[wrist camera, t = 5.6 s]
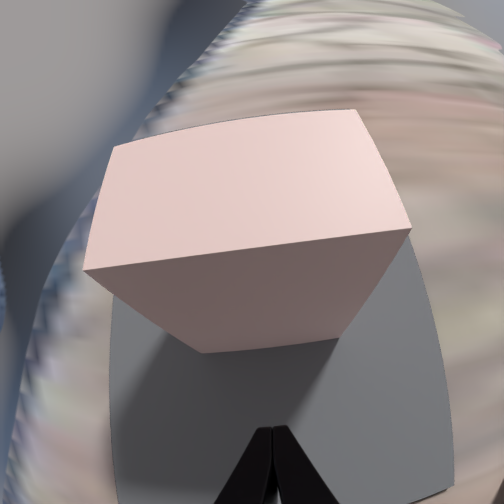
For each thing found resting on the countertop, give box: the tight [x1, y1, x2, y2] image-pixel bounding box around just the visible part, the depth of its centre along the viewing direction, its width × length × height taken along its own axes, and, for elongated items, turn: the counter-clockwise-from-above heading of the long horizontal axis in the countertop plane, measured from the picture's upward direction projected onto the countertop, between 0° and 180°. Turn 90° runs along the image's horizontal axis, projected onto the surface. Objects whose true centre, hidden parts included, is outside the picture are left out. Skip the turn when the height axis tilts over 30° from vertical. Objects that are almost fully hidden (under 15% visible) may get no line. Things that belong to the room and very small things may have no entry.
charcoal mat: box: [109, 109, 454, 504], centre depth 17 cm, size 28×18×1 cm, turn 5°
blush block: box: [83, 109, 412, 353], centre depth 11 cm, size 4×7×10 cm, turn 95°
